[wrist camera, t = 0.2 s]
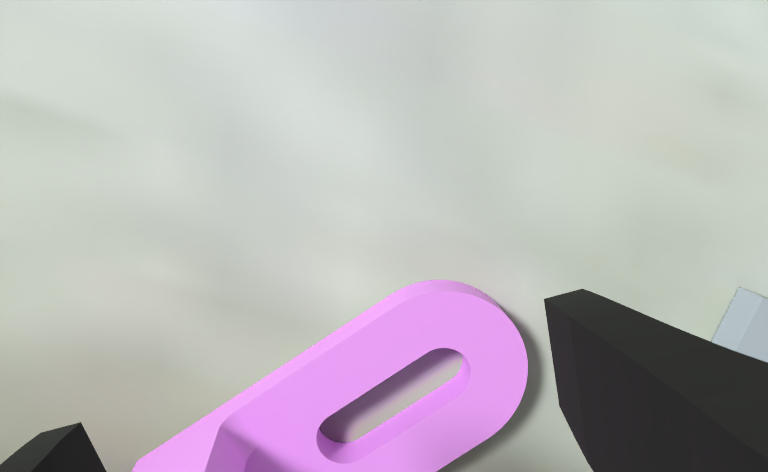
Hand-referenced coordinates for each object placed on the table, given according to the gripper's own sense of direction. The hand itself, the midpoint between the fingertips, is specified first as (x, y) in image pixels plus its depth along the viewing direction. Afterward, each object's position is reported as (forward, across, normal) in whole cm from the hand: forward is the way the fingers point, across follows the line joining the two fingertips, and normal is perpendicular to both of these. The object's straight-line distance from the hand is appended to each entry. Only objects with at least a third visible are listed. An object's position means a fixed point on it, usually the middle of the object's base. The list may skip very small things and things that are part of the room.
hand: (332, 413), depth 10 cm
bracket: (+10, +1, +8) cm, 12 cm away
